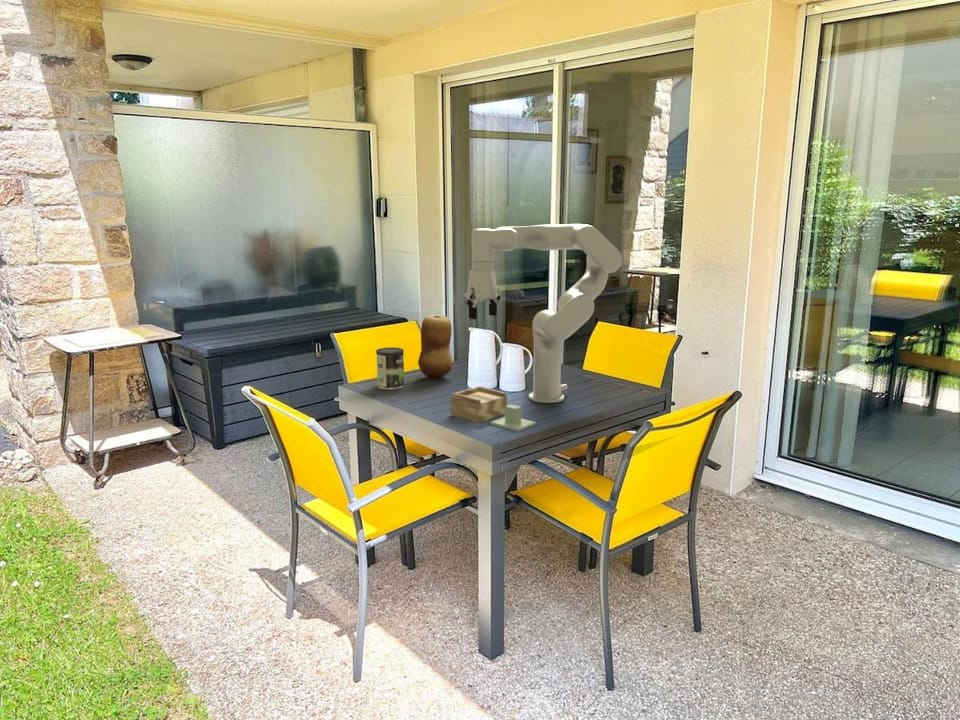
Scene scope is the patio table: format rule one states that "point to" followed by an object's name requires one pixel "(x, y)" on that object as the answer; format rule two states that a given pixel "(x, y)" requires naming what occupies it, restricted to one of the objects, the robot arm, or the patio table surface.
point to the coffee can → (390, 368)
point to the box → (478, 404)
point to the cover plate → (513, 426)
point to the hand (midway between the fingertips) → (483, 317)
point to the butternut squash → (435, 347)
